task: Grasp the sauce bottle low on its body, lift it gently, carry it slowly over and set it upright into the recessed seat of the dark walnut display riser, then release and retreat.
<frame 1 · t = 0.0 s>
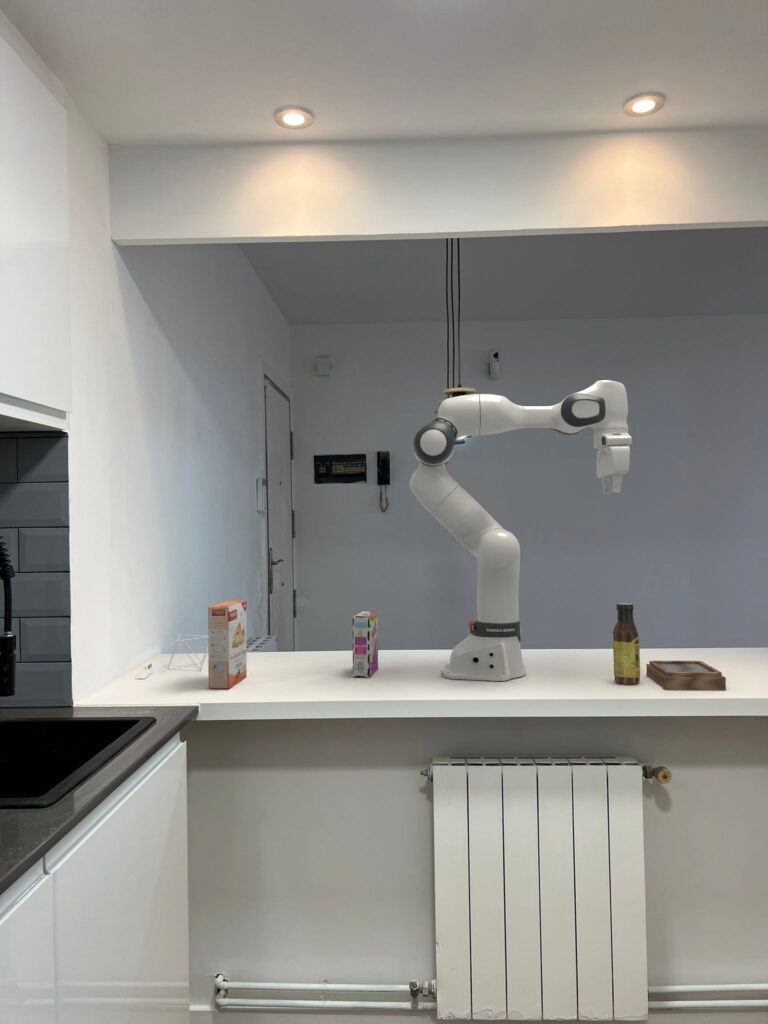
hand: (612, 493, 183), 48 cm above the table, fingers open, 8 cm apart
cracker box: (228, 683, 180), on the table
display riser: (684, 682, 172), on the table
sauce bottle: (627, 683, 173), on the table
candy bar box: (366, 674, 188), on the table
geometric polyhedron: (190, 668, 199), on the table
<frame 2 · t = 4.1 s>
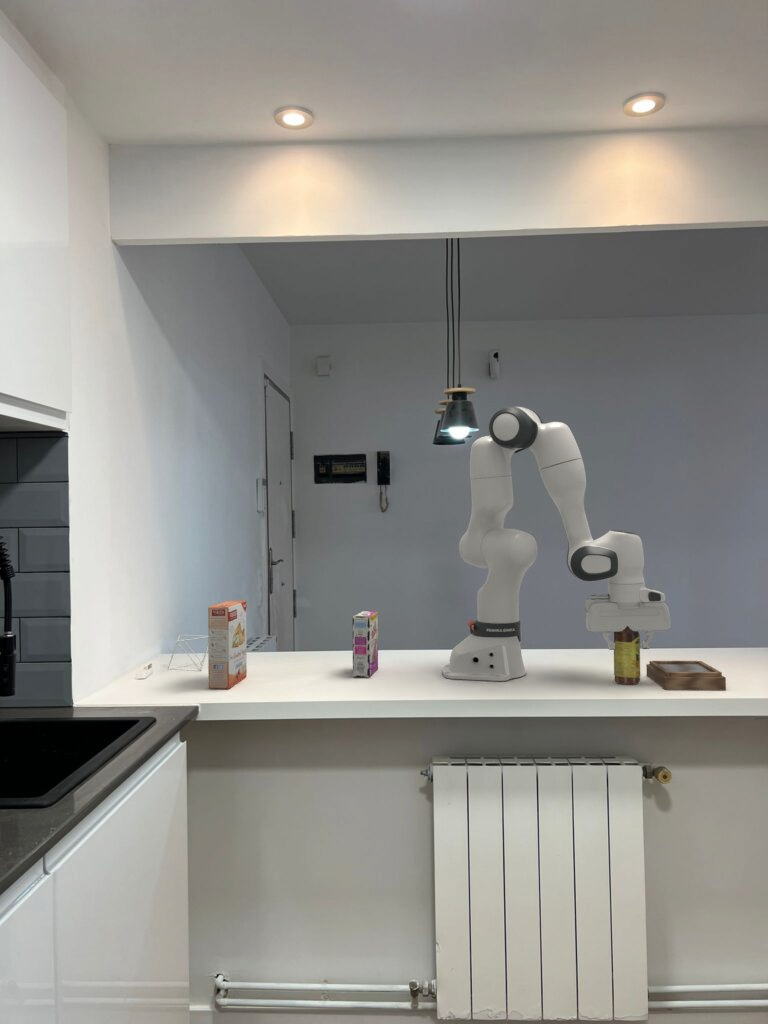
hand: (628, 649, 173), 8 cm above the table, fingers open, 7 cm apart
sauce bottle: (627, 683, 173), on the table, touching arm, gripper
everything else where it was.
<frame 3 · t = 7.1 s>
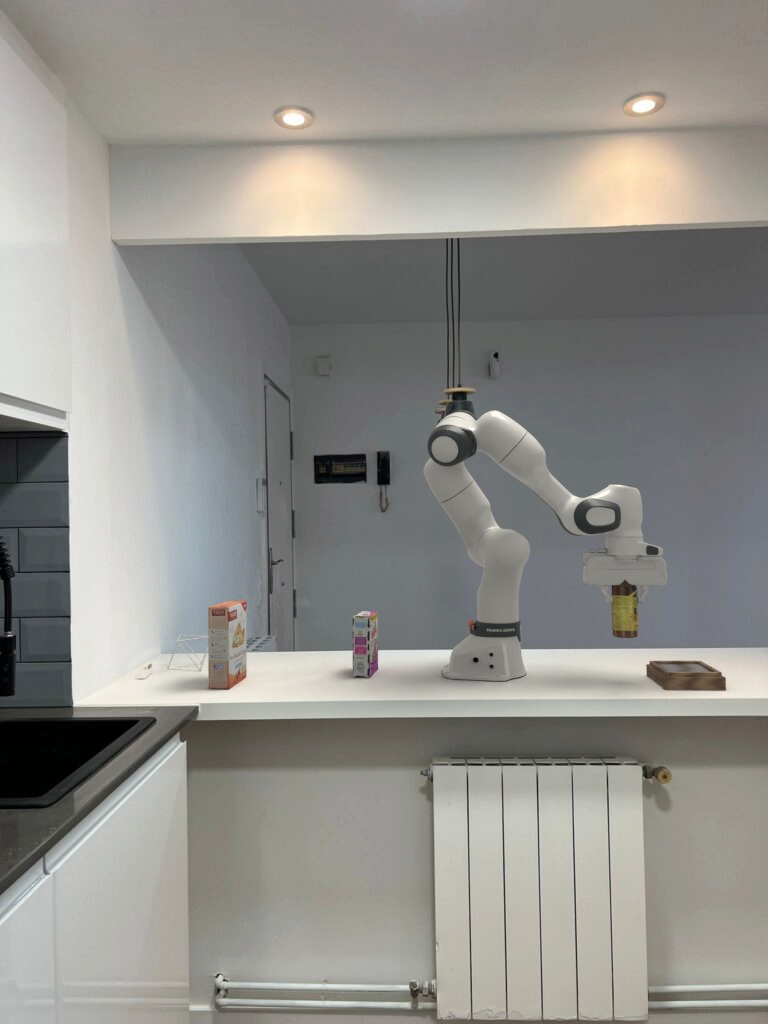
hand: (624, 603, 173), 20 cm above the table, fingers closed on sauce bottle, 6 cm apart
sauce bottle: (625, 637, 173), point 11 cm above the table, touching gripper
everything else where it was.
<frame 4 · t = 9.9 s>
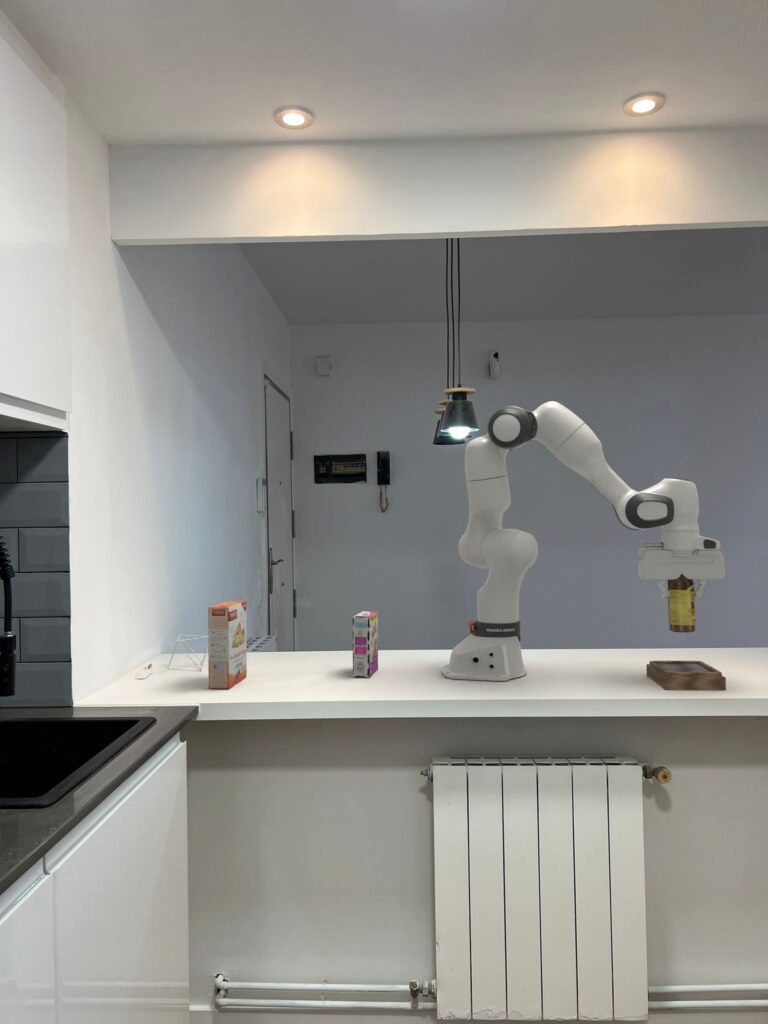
hand: (681, 597, 172), 21 cm above the table, fingers closed on sauce bottle, 6 cm apart
sauce bottle: (682, 632, 172), point 13 cm above the table, touching gripper
everything else where it was.
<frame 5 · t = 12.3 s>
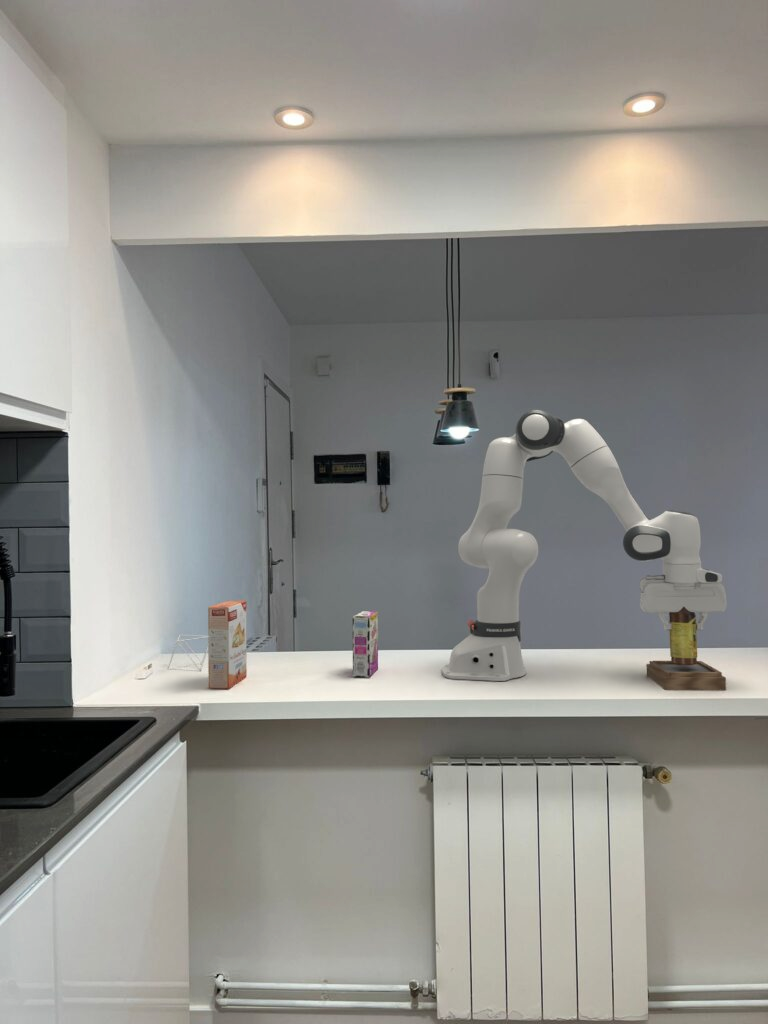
hand: (683, 630, 172), 13 cm above the table, fingers closed on sauce bottle, 6 cm apart
sauce bottle: (683, 664, 172), point 4 cm above the table, touching gripper
everything else where it was.
when the fingers open (12 cm above the table, at t = 13.9 s): sauce bottle stays where it is, resting on display riser.
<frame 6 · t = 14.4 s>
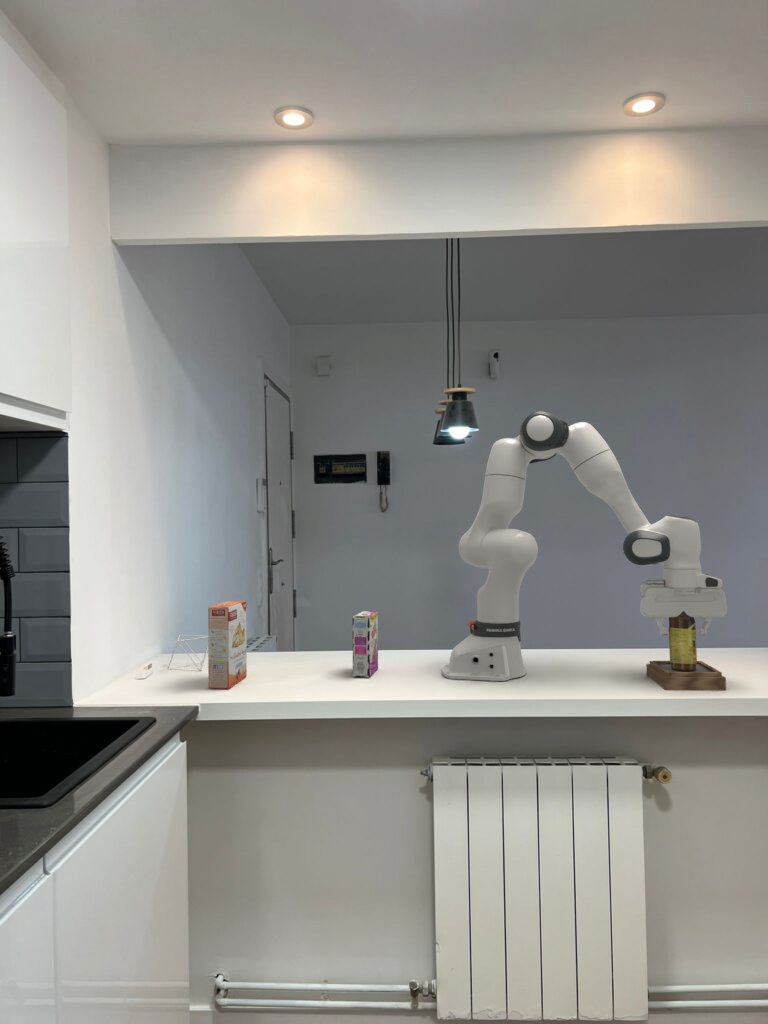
hand: (683, 634, 172), 12 cm above the table, fingers open, 8 cm apart
sauce bottle: (683, 670, 172), point 3 cm above the table, touching display riser
everything else where it was.
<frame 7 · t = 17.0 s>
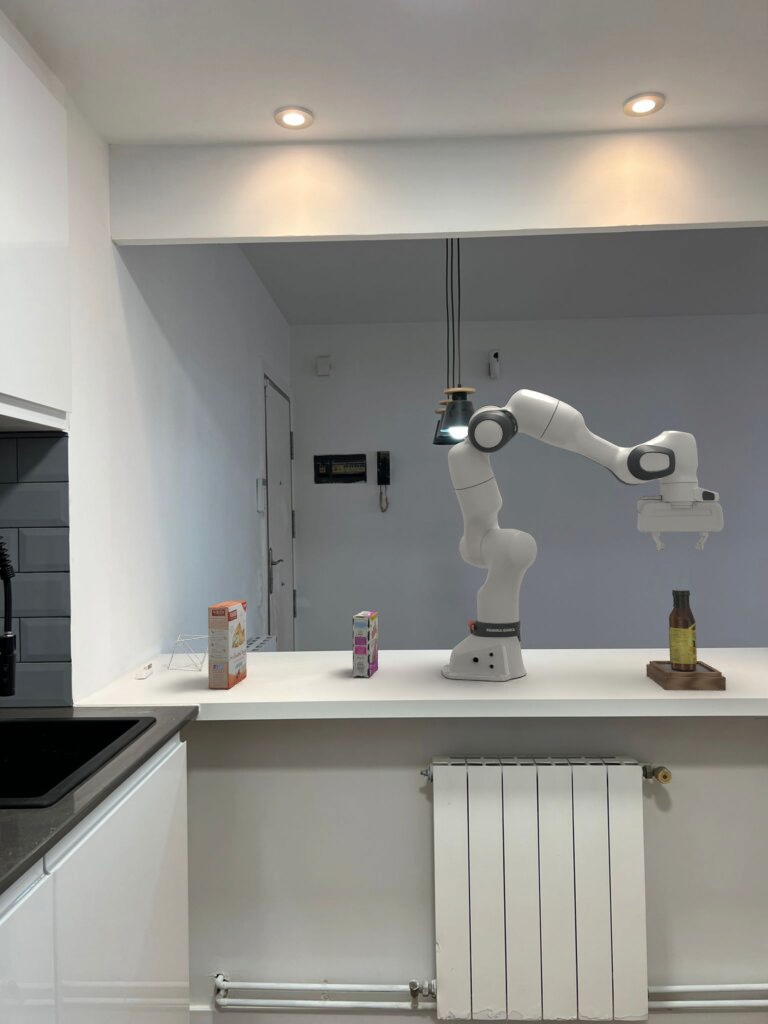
hand: (680, 550, 173), 33 cm above the table, fingers open, 8 cm apart
nothing on the table moved.
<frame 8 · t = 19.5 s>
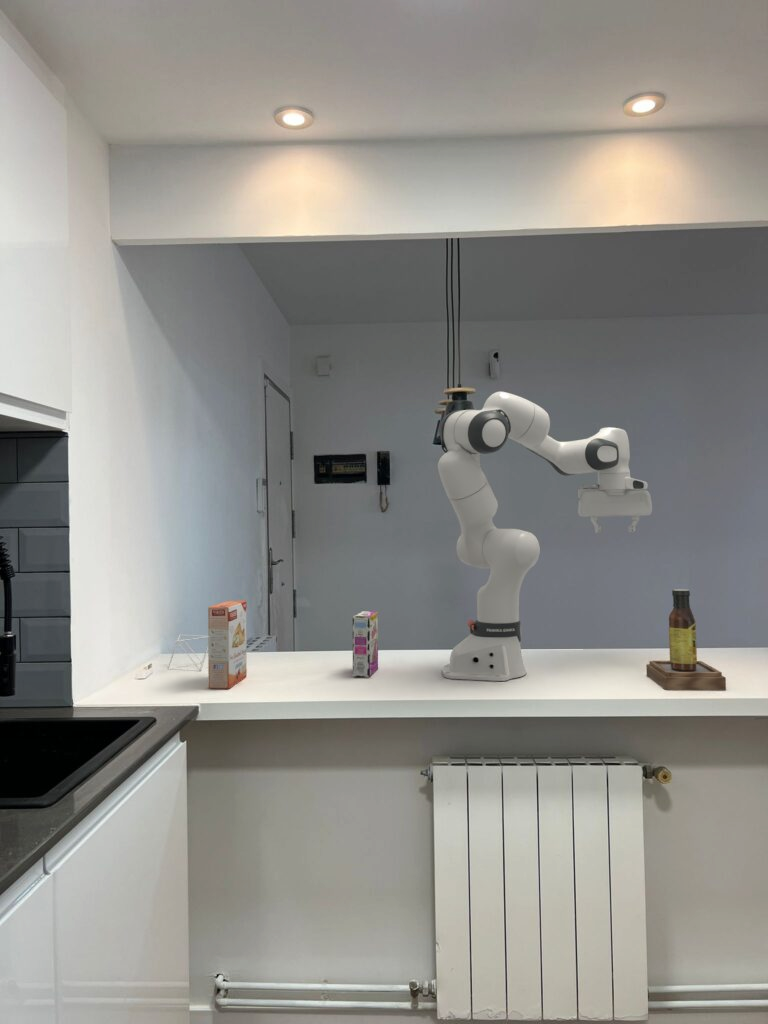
hand: (615, 532, 198), 37 cm above the table, fingers open, 8 cm apart
nothing on the table moved.
at the end: sauce bottle 0.2 cm off-centre on the display riser, point 3.1 cm above the display riser's base; sauce bottle tilted 0°; the gripper is holding nothing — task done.
